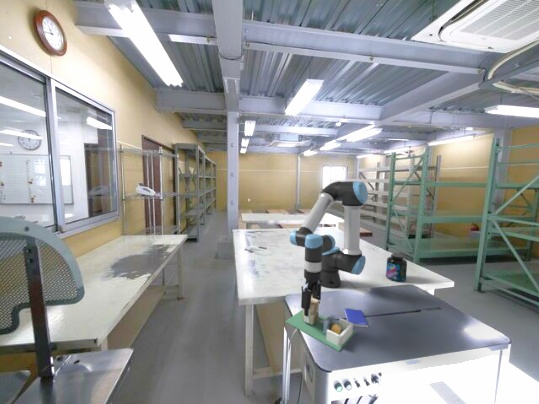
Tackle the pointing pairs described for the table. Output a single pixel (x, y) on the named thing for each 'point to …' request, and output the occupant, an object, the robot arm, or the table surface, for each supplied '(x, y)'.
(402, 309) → the table surface
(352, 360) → the table surface
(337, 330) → the ball
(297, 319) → the pitch mat
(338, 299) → the table surface
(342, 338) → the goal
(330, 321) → the rod slider
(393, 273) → the container
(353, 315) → the blue flat square slab
